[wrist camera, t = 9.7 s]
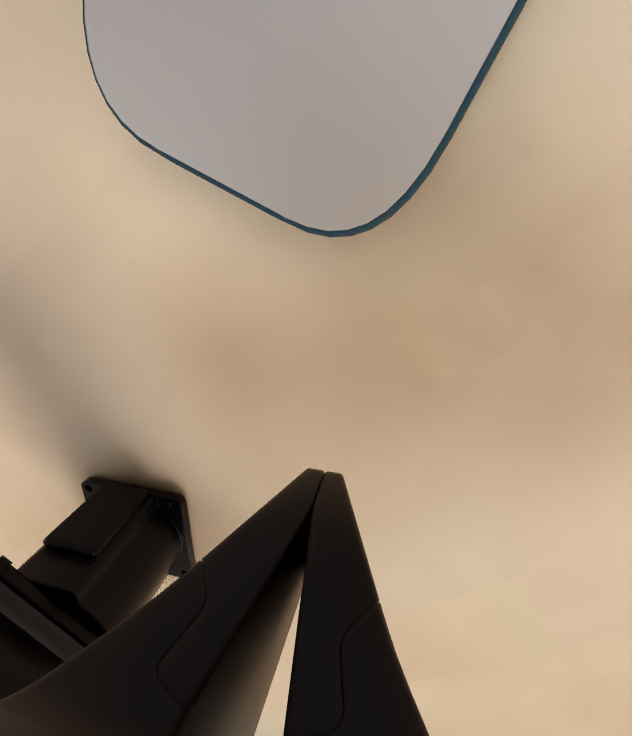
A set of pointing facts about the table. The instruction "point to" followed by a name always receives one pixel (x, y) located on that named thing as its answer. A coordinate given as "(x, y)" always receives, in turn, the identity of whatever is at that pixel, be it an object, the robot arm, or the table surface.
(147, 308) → the table surface
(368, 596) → the robot arm
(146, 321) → the table surface
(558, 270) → the table surface
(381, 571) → the table surface
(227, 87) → the external hard drive
